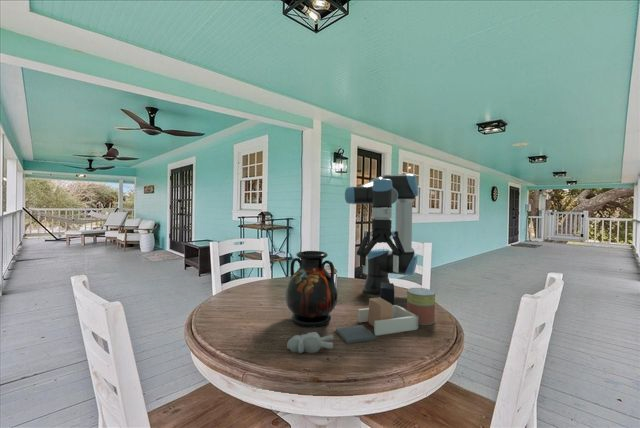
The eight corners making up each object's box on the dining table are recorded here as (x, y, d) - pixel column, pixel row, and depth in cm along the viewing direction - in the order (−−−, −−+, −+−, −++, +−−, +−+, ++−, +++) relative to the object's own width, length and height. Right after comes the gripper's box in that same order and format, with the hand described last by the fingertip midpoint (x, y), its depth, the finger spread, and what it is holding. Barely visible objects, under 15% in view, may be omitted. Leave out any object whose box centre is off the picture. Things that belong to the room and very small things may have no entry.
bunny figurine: (290, 331, 105) (333, 327, 103) (291, 345, 105) (334, 342, 104) (284, 343, 95) (331, 339, 94) (286, 359, 95) (333, 356, 94)
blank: (379, 321, 125) (379, 297, 124) (391, 330, 116) (392, 304, 116) (368, 322, 123) (369, 298, 123) (380, 331, 115) (380, 305, 114)
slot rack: (396, 316, 131) (397, 304, 130) (418, 329, 117) (418, 316, 117) (358, 321, 124) (358, 309, 124) (375, 335, 111) (375, 322, 111)
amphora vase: (275, 326, 118) (276, 254, 118) (298, 308, 139) (298, 248, 138) (327, 334, 111) (328, 258, 110) (343, 315, 131) (344, 250, 131)
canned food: (440, 321, 126) (441, 292, 125) (422, 327, 119) (423, 296, 119) (418, 313, 135) (418, 286, 135) (400, 318, 129) (401, 290, 129)
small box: (394, 311, 137) (394, 288, 136) (379, 310, 138) (380, 287, 138) (393, 304, 147) (394, 282, 147) (379, 303, 148) (380, 281, 148)
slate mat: (361, 327, 118) (361, 325, 118) (375, 339, 108) (376, 336, 108) (335, 331, 114) (335, 328, 114) (347, 343, 104) (347, 340, 104)
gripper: (357, 219, 111) (356, 276, 111) (414, 219, 119) (413, 272, 120) (348, 218, 118) (347, 272, 118) (403, 218, 126) (402, 269, 127)
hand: (380, 272), depth 119 cm, fingers open, 13 cm apart
